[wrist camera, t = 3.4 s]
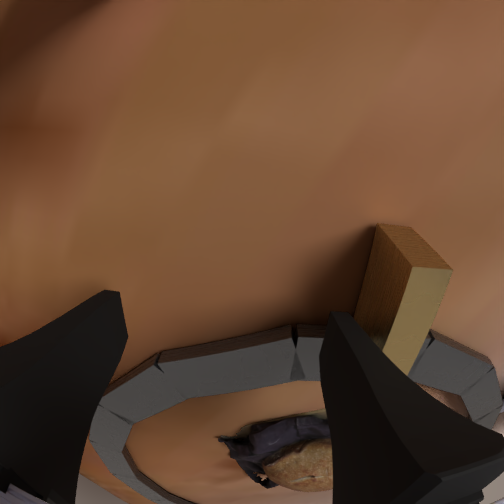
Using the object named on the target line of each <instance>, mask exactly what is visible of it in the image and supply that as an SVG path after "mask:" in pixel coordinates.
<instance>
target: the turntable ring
mask: <svg viewBox="0 0 504 504" xmlns="http://www.w3.org/2000/svg"><path fill="white" fill-rule="evenodd" d="M452 272H453V269H452V268H451V267H450V266H449V265H448V264H447V263H446V262H445V261H444V260H443V259H442V258H441V257H440V256H439V254H438V253H437V252H436V251H435V250H434V249H433V248H432V247H431V246H430V245H429V244H428V243H427V242H426V241H425V240H424V239H423V238H422V237H421V236H420V235H419V234H418V233H417V232H416V231H414V230H413V229H412V228H411V227H404V226H396V225H388V224H379V223H377V227H376V231H375V236H374V240H373V245H372V249H371V253H370V257H369V261H368V265H367V269H366V273H365V277H364V281H363V285H362V289H361V292H360V296H359V299H358V303H357V307H356V310H355V313H354V317H353V318H354V320H355V321H356V322H357V323H358V324H359V325H360V327H361V328H362V329H363V330H364V331H365V332H366V334H367V335H368V336H369V337H370V338H371V339H372V341H373V342H374V343H375V344H376V345H377V346H378V347H379V348H380V349H381V351H382V352H383V353H384V354H385V355H386V356H387V357H388V358H389V359H390V360H391V361H392V362H393V363H394V364H395V365H396V366H397V367H398V368H399V369H400V370H401V371H402V372H403V373H404V374H405V375H407V376H408V377H409V378H410V379H411V380H412V381H414V382H417V383H420V384H423V385H426V386H430V387H433V388H436V389H440V390H443V391H447V392H450V393H454V394H457V395H461V397H462V399H463V401H464V403H465V405H466V407H467V410H468V412H469V414H470V416H469V418H468V419H469V420H471V421H473V422H475V423H477V424H479V425H481V426H484V427H486V428H488V429H492V428H493V426H494V423H495V421H496V419H497V417H498V415H499V413H500V411H501V409H502V406H503V401H502V396H501V392H500V387H499V383H498V379H497V375H496V371H495V367H494V366H493V364H492V362H491V361H490V359H489V358H488V357H487V356H485V355H483V354H481V353H479V352H477V351H475V350H473V349H471V348H469V347H467V346H464V345H462V344H460V343H458V342H456V341H454V340H452V339H450V338H448V337H446V336H444V335H442V334H440V333H438V332H436V331H434V330H432V329H430V327H431V325H432V323H433V320H434V318H435V316H436V313H437V311H438V309H439V306H440V304H441V301H442V299H443V296H444V293H445V291H446V288H447V285H448V283H449V280H450V277H451V274H452ZM326 327H327V326H324V325H303V324H297V327H296V332H295V336H294V333H293V330H292V327H291V325H288V326H284V327H279V328H275V329H271V330H267V331H262V332H258V333H254V334H249V335H245V336H240V337H235V338H231V339H226V340H221V341H216V342H211V343H206V344H201V345H196V346H190V347H185V348H179V349H174V350H168V351H162V353H161V355H160V354H159V353H157V354H156V355H154V356H153V357H151V358H150V359H148V360H147V361H146V362H144V363H143V364H141V365H140V366H138V367H137V368H135V369H134V370H132V371H131V372H129V373H128V374H126V375H125V376H123V377H122V378H120V379H119V380H117V381H116V382H114V383H112V384H111V385H109V386H108V387H107V388H106V390H105V392H104V394H103V396H102V398H101V401H100V403H99V405H98V407H97V409H96V412H95V414H94V417H93V420H92V423H91V428H90V436H89V440H90V443H91V444H92V446H93V447H94V449H95V450H96V452H97V453H98V455H99V456H100V458H101V459H102V461H103V462H104V464H105V465H106V467H107V468H108V469H109V471H110V472H111V473H113V475H114V476H115V477H117V478H118V479H120V480H121V481H122V482H124V483H125V484H126V485H128V486H129V487H131V488H132V489H134V490H135V491H137V492H138V493H140V494H141V495H143V496H144V497H146V498H147V499H149V500H151V501H153V502H155V503H158V504H193V503H191V502H188V501H186V500H183V499H181V498H178V497H176V496H174V495H171V494H169V493H168V492H166V491H165V490H163V489H162V488H161V487H159V486H158V485H156V484H155V483H154V482H152V481H151V480H150V479H148V478H147V477H146V476H144V475H143V474H142V473H141V472H139V470H138V469H137V467H136V465H135V463H134V461H133V459H132V457H131V456H130V454H129V452H128V450H127V448H126V446H125V442H126V440H127V437H128V435H129V433H130V430H131V428H132V425H133V424H134V423H136V422H139V421H141V420H143V419H146V418H148V417H150V416H152V415H155V414H157V413H159V412H161V411H163V410H165V409H168V408H170V407H172V406H174V405H176V404H178V403H180V402H182V401H184V400H186V399H189V398H194V397H202V396H210V395H218V394H225V393H232V392H238V391H244V390H250V389H256V388H262V387H267V386H272V385H278V384H283V383H287V382H292V381H297V380H303V381H320V367H319V354H320V350H321V346H322V343H323V339H324V335H325V331H326Z"/></svg>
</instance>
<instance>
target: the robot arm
mask: <svg viewBox="0 0 504 504" xmlns="http://www.w3.org/2000/svg"><path fill="white" fill-rule="evenodd" d="M127 339H128V333H127V328H126V323H125V319H124V313H123V308H122V303H121V297H120V292H117V291H110V290H103V291H101V292H99V293H98V294H96V295H94V296H92V297H91V298H89V299H88V300H86V301H84V302H83V303H81V304H80V305H78V306H76V307H75V308H73V309H72V310H70V311H68V312H67V313H65V314H64V315H62V316H61V317H59V318H57V319H55V320H54V321H52V322H50V323H49V324H47V325H45V326H43V327H42V328H40V329H38V330H36V331H35V332H33V333H31V334H29V335H27V336H25V337H23V338H21V339H18V340H16V341H14V342H12V343H10V344H7V345H4V346H2V347H0V504H48V503H49V504H75V497H76V489H77V481H78V475H79V470H80V465H81V460H82V455H83V451H84V447H85V443H86V439H87V436H88V433H89V429H90V426H91V423H92V420H93V417H94V414H95V412H96V409H97V407H98V405H99V403H100V401H101V398H102V396H103V394H104V392H105V390H106V388H107V386H108V384H109V382H110V380H111V378H112V376H113V374H114V372H115V370H116V368H117V366H118V364H119V362H120V360H121V357H122V354H123V351H124V348H125V345H126V342H127ZM319 367H320V381H321V387H322V392H323V398H324V403H325V408H326V414H327V419H328V425H329V430H330V436H331V444H332V464H333V504H479V502H481V501H482V500H483V499H484V495H483V492H482V489H483V488H484V487H486V486H487V485H488V484H489V483H491V482H492V481H493V480H494V479H496V478H497V477H498V476H499V475H500V474H501V473H502V472H504V437H503V435H502V434H500V433H497V432H495V431H493V430H491V429H488V428H486V427H484V426H481V425H479V424H477V423H475V422H473V421H471V420H469V419H467V418H466V417H464V416H462V415H460V414H458V413H457V412H455V411H453V410H452V409H450V408H448V407H447V406H445V405H444V404H443V403H441V402H440V401H438V400H437V399H435V398H434V397H432V396H431V395H430V394H428V393H427V392H426V391H424V390H423V389H422V388H421V387H420V386H418V385H417V384H416V383H415V382H414V381H412V380H411V379H410V378H409V377H408V376H407V375H405V374H404V373H403V372H402V371H401V370H400V369H399V368H398V367H397V366H396V365H395V364H394V363H393V362H392V361H391V360H390V359H389V358H388V357H387V356H386V355H385V354H384V353H383V352H382V351H381V349H380V348H379V347H378V346H377V345H376V344H375V343H374V342H373V341H372V339H371V338H370V337H369V336H368V335H367V334H366V332H365V331H364V330H363V329H362V328H361V327H360V325H359V324H358V323H357V322H356V321H355V320H354V318H353V317H352V316H351V315H350V314H349V313H348V312H333V311H330V315H329V320H328V323H327V327H326V331H325V335H324V339H323V343H322V346H321V350H320V354H319ZM502 401H503V406H502V409H501V411H500V413H502V412H504V399H503V400H502ZM36 497H37V498H36ZM38 498H39V499H38ZM40 499H41V500H40ZM42 500H43V501H42ZM44 501H45V502H44ZM46 502H47V503H46ZM491 504H504V498H502V499H500V500H497V501H495V502H493V503H491Z"/></svg>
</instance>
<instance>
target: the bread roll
mask: <svg viewBox="0 0 504 504" xmlns="http://www.w3.org/2000/svg"><path fill="white" fill-rule="evenodd" d="M240 429H242V430H241V431H240V432H239V433H236V434H237V436H235V437H227V436H222V435H221V437H219V438H218V441H219V442H224V443H225V444H226V445H227V447H228V448H229V449H230V457H231V458H233V459H236V460H237V462H238V464H239V465H240V466H241V468H242V469H243V470H245V472H246V473H247V474H248V476H250V478H251V479H252V480H254V481H255V482H256V483H260V484H261V485H262V486H264V487H265V488H267V489H268V488H272V487H275V486H278V485H280V486H283V487H286V488H289V489H292V490H296V491H302V492H317V491H325V490H330V489H333V464H332V444H331V436H330V430H329V425H328V419H327V414H326V408H325V409H321V410H316V411H311V412H307V413H301V414H296V415H291V416H288V417H283V418H279V419H275V420H269V421H265V422H259V423H255V424H250V425H246V426H244V427H243V428H240ZM236 438H239V439H244V441H240V440H238V439H236ZM253 472H254V473H255V472H257V473H256V474H253ZM257 474H266V475H267V478H266V477H265V478H266V479H267V480H266V479H264V480H263V481H261V479H262V478H261V477H260V476H257Z"/></svg>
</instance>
